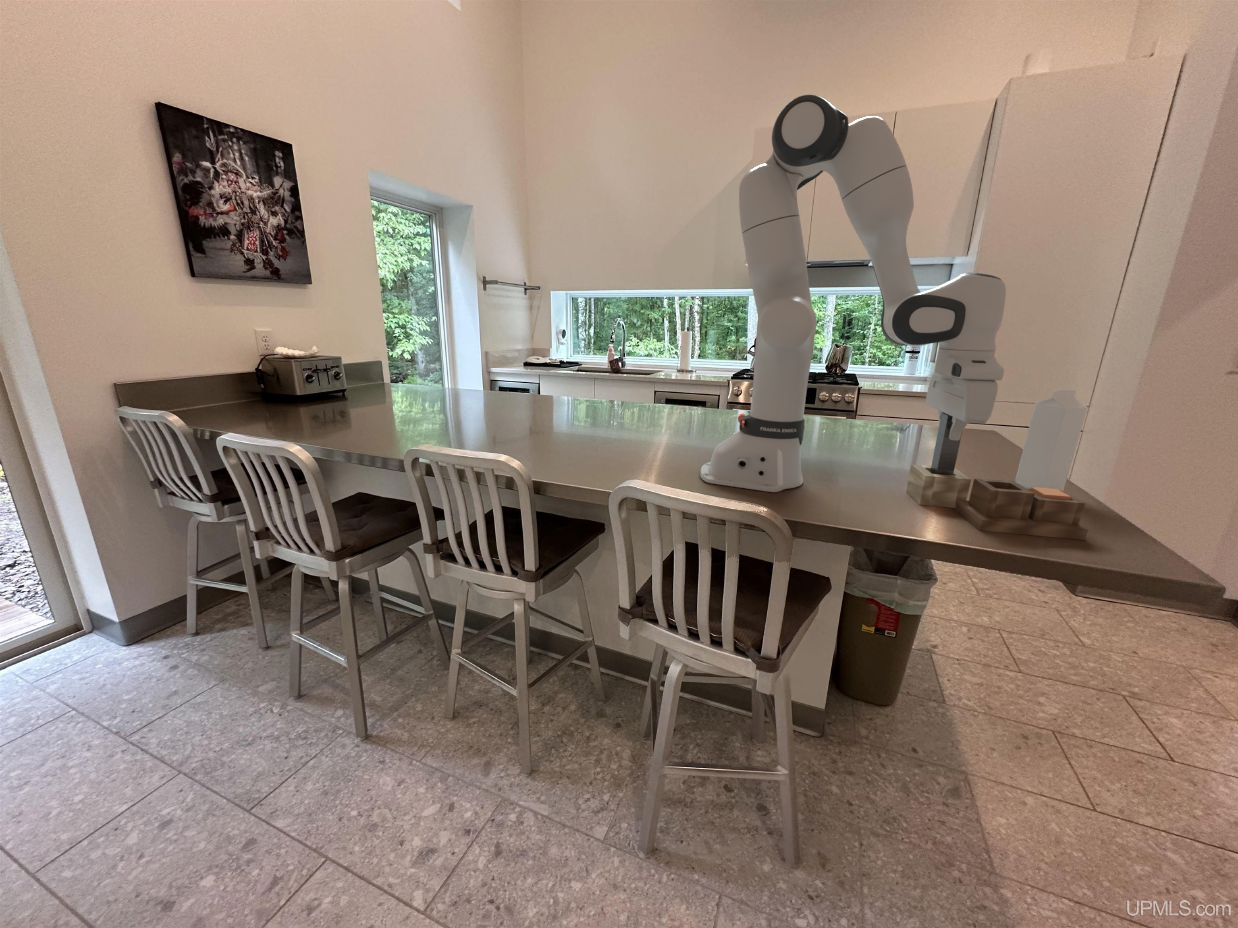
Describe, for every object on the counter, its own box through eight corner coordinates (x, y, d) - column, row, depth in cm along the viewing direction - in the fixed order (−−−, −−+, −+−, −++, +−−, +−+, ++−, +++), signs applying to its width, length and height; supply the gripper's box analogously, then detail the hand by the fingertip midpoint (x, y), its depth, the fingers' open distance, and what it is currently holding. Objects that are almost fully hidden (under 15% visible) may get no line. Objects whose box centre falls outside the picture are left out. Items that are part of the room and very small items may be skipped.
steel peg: (936, 475, 99) (948, 415, 96) (930, 471, 102) (941, 412, 99) (952, 476, 99) (965, 416, 95) (946, 472, 102) (958, 413, 98)
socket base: (979, 530, 88) (988, 492, 86) (955, 509, 97) (963, 475, 95) (1085, 540, 85) (1097, 501, 83) (1049, 517, 94) (1059, 482, 92)
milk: (1012, 488, 110) (1037, 387, 104) (1033, 486, 111) (1059, 387, 105) (1041, 498, 104) (1069, 392, 98) (1063, 496, 106) (1092, 391, 99)
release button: (1038, 515, 88) (1044, 494, 87) (1025, 507, 92) (1031, 487, 90) (1064, 518, 87) (1071, 496, 86) (1050, 509, 91) (1056, 488, 90)
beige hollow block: (919, 504, 99) (925, 475, 97) (906, 491, 107) (911, 464, 105) (964, 508, 98) (971, 479, 96) (947, 494, 105) (953, 467, 103)
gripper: (924, 360, 105) (912, 425, 109) (968, 370, 85) (951, 448, 89) (958, 361, 103) (944, 426, 107) (1010, 371, 84) (991, 451, 88)
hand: (948, 436), depth 98 cm, fingers closed on steel peg, 3 cm apart
